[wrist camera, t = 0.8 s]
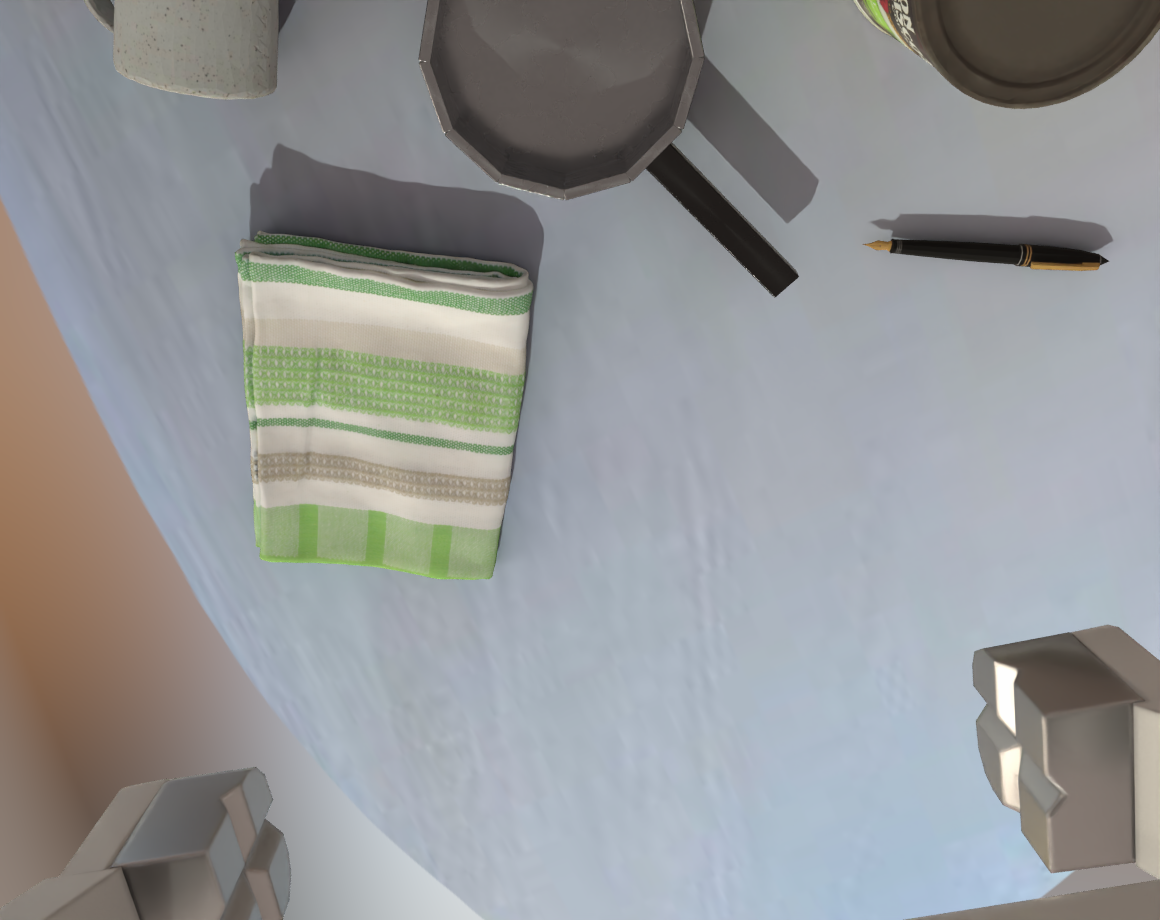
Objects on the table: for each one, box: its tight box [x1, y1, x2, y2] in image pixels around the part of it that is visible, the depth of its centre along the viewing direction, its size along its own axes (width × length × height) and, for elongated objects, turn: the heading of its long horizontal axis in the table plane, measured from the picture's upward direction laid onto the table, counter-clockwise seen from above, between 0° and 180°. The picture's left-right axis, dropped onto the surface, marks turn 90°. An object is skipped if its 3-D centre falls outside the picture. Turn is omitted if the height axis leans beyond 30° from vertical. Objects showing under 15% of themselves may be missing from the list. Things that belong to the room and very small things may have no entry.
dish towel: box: [235, 231, 533, 580], centre depth 64 cm, size 17×23×4 cm
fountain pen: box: [862, 239, 1109, 271], centre depth 58 cm, size 14×1×2 cm, turn 86°
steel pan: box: [419, 0, 799, 297], centre depth 54 cm, size 14×24×3 cm, turn 46°
